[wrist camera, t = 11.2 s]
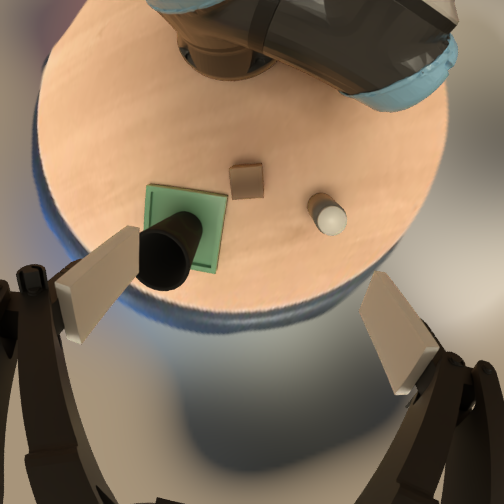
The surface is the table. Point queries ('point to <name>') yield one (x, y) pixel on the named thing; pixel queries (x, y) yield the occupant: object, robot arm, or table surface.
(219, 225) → the tray
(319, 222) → the pepper shaker
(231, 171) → the walnut block
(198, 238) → the cup
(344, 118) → the table surface
